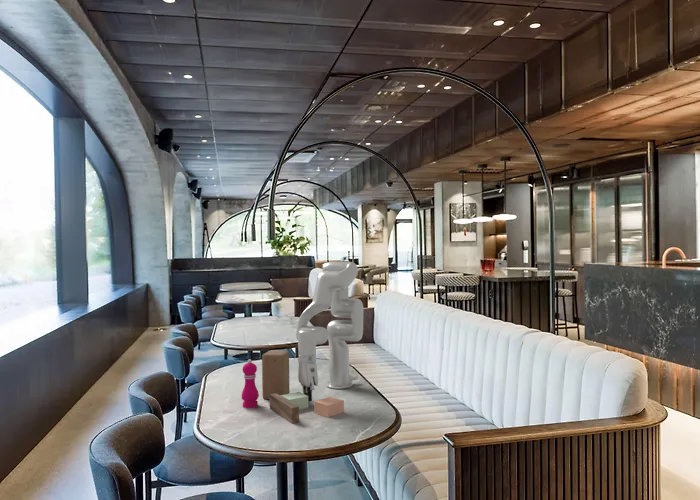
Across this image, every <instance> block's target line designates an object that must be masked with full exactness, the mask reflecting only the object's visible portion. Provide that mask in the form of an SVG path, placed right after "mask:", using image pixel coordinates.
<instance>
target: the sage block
mask: <svg viewBox="0 0 700 500" xmlns="http://www.w3.org/2000/svg"><path fill="white" fill-rule="evenodd" d="M280 396H281V397H283V398H285V399H287V400H288V401H290V402H292V403H293V404H295V405H297V406H299V411H300V410H304V409H308V408H309V402H308V396H307V395H305V394H303V392H300V391H297V392H291V393H289V394H285V395H280Z"/></svg>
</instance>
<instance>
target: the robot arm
mask: <svg viewBox="0 0 700 500" xmlns="http://www.w3.org/2000/svg"><path fill="white" fill-rule="evenodd" d="M321 269H322V272H319V273H318V274H317V277H316V282H315V286H314V290H313V291H314V292H313V296H312V302H311V303H310V304H309V305H308V306H307V307H306V308H305V309H304V311H303V312H302V313H301V314H300V316H299V318H298V321H297V326H296V332H295V336H296V340H297V346H298V348H297V352H298V353H297V354H298V355H297V356H298V357H297V359H298V374H297V375H298V376H297V377H298V383H300V386H301V387H302V393H303V394H305V395H307V396H308V403H310V402H313V401H312V400H313V396H312V395H313V391H314V390H315V389H316V386H317V387H318V385H319V378H318V377H319V376H318V373H319V372H318V366H317V345H324V344H325V343H326V342H327V341H328V349H329V350H328V352H329V354H328V359H329V367H328V368H329V369H328V370H329V371H328V372H329V381H327V382H326V387H327V388H329V389H333V390H334V389H335V390H336V389H337V390H343V389H349V388H352V387H353V384H354V383H353V381H356V380H358V379H359V376H358V375H350V349H349V346H348V344H347V342H359V341H360V340H362V338H363V335H364V305H363V302H362V300H361V299H359V298H357V297H355V298H354V297H349V290H350V289H349V286H350V285H351V284H352V283H353V282H354V281H355V279H356V278H357V276H358V274H359V273H358V271H359V270H358V269H359V268H358V266H357V264H356V263H355V262H353V261H329V262H325V263H323V264H322V268H321ZM328 309H330V314H331V315H332V316H333V317H335V318H346V319H347V318H348V319H349V318H350V320H345V319H343V320H341V319H340V320H339V319H334V320H331V321H330V322H329V323H328V324H327V326H326V327H323V326H313V325H308V324H309V322H310V320H311V319H312V318H313V317H314V316H315V315H317V314H319V313H322V312H324V311H327V310H328Z"/></svg>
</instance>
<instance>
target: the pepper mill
mask: <svg viewBox="0 0 700 500" xmlns="http://www.w3.org/2000/svg"><path fill="white" fill-rule="evenodd" d="M252 361H253V360H252V359H251V358H250V359H248V360H247V363H245V364H244V365H243V366H242V373H243V378H244V386H243V389H242V391H241V399H242V401H243V402H242V407H243V408H244V409H254V408H257V407H258V405H259V404H258V403H259V402H258V399H259V397H260V395H259V390H258V388H257V386H256V381H255V380H256V378H257V377H256V376H257V374H256V373H257V371H258V366H257V365H256V364H255V363H254V362H252Z"/></svg>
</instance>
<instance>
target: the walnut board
mask: <svg viewBox="0 0 700 500" xmlns="http://www.w3.org/2000/svg"><path fill="white" fill-rule="evenodd" d="M269 398H270V399H269V410H271V411H273V412H274V413H275V414H277V416H280V417H281V418H282V419H284V420H285V421H288V422H289V423H291V424H296V423H299V422H300V410H299V406H297V405H295V404H293V403H292V402H290V401H288V400H287V399H285V398H283V397H281V396H280V395H278V394H276V393H275V394H269Z"/></svg>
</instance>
